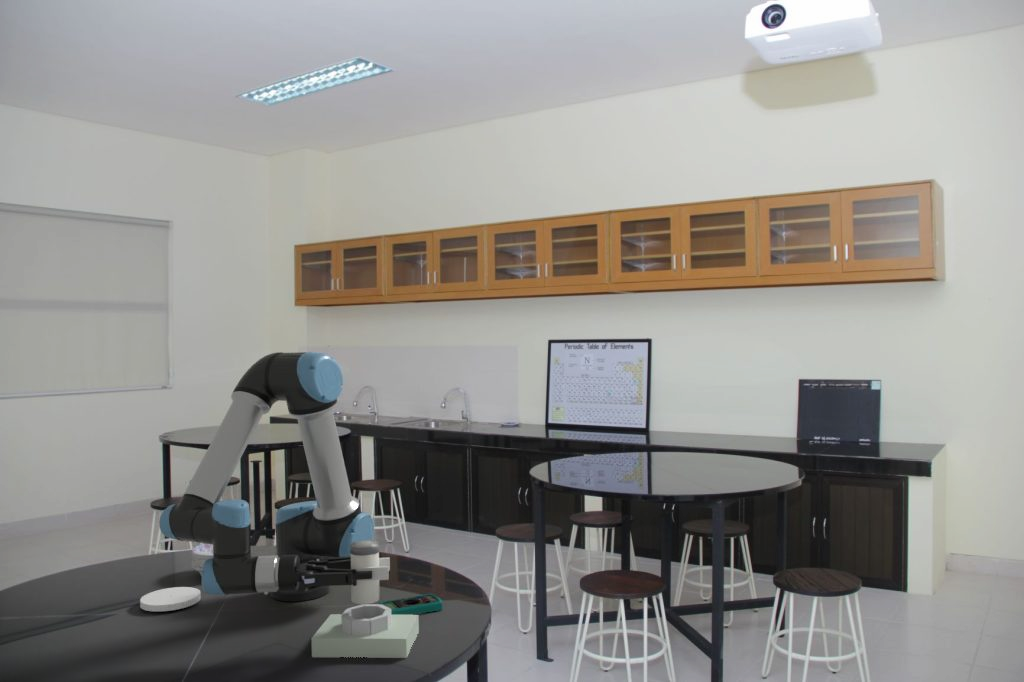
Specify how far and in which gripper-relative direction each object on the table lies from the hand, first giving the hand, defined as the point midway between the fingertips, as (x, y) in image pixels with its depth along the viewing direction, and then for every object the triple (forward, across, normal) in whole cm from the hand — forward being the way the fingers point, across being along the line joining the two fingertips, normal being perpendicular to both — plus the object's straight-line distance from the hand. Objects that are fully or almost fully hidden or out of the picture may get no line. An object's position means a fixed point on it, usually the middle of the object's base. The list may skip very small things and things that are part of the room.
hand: (388, 568), depth 175 cm
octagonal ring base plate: (-5, 0, -16) cm, 17 cm away
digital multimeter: (+4, -20, -17) cm, 26 cm away
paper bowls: (-50, -58, -16) cm, 78 cm away
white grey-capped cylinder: (-5, 0, -6) cm, 8 cm away
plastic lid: (-56, -34, -17) cm, 68 cm away
